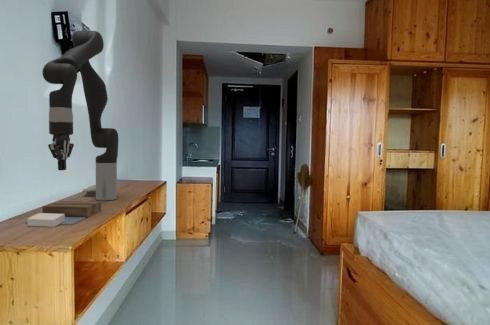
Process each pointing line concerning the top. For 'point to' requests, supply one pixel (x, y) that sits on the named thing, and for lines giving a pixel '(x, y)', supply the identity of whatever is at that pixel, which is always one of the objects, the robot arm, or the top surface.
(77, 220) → the mat
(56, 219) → the cream thick tile
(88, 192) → the packaged product
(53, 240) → the top surface
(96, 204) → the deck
